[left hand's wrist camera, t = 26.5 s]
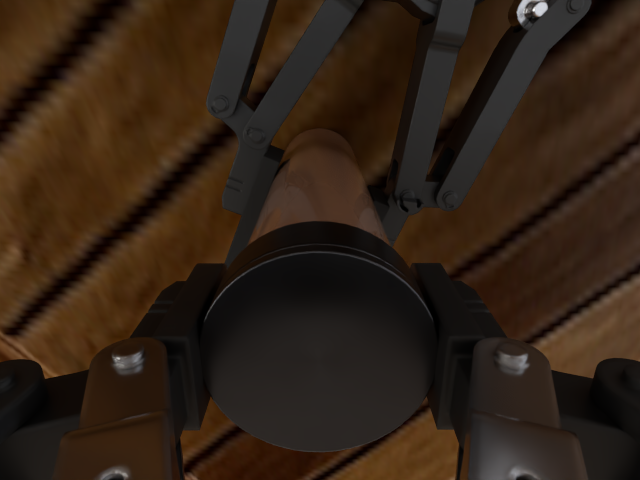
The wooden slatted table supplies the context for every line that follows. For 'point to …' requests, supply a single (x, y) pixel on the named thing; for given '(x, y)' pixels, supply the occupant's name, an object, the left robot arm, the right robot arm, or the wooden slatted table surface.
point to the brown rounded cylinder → (318, 187)
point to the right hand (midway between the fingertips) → (279, 288)
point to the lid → (318, 339)
